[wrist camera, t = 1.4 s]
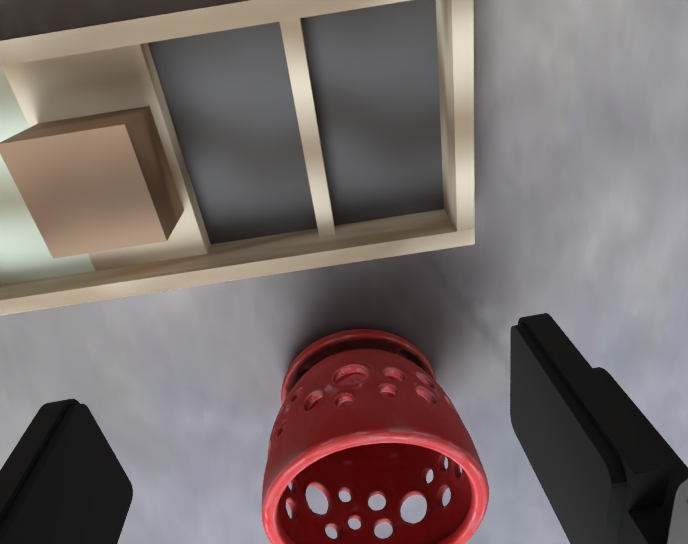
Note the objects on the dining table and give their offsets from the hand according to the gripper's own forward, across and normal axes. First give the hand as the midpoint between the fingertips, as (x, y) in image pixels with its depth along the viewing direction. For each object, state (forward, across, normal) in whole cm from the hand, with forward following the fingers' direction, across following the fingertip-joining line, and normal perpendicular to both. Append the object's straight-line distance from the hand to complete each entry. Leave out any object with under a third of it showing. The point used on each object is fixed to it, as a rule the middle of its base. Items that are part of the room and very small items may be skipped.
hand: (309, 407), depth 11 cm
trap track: (+21, +7, -1) cm, 22 cm away
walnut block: (+20, +10, -1) cm, 22 cm away
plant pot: (+21, -1, +18) cm, 28 cm away
